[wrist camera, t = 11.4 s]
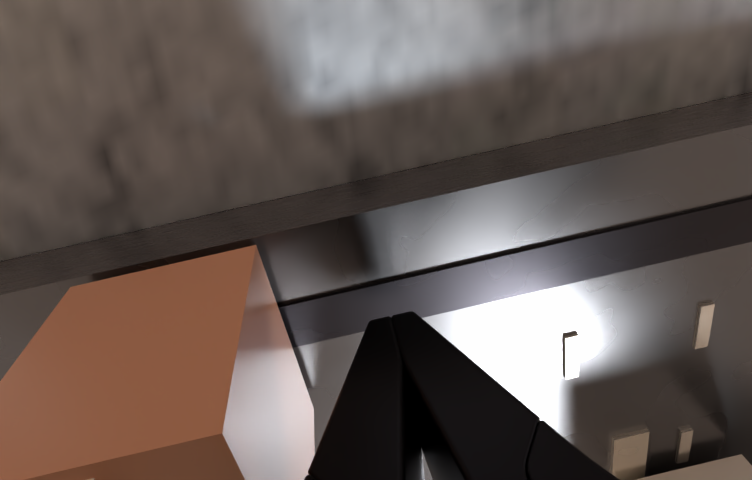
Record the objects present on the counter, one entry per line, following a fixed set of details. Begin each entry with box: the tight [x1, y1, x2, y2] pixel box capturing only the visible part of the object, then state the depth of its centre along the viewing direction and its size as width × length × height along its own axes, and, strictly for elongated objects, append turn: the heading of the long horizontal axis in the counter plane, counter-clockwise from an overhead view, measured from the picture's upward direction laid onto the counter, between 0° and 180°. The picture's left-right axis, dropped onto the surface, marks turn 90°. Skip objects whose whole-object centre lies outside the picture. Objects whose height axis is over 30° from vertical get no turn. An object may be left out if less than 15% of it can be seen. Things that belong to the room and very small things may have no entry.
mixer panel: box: [0, 92, 752, 480], centre depth 13 cm, size 18×13×2 cm
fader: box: [0, 245, 315, 480], centre depth 8 cm, size 3×4×4 cm
